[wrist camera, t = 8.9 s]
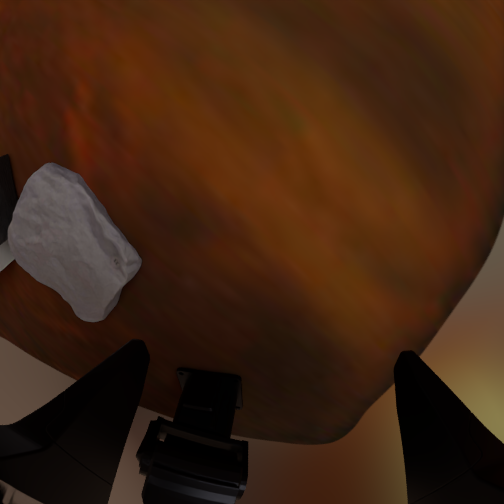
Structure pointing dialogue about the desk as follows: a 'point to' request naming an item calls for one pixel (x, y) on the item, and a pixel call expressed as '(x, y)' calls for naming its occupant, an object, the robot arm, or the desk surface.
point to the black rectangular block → (6, 197)
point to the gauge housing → (5, 255)
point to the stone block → (71, 242)
